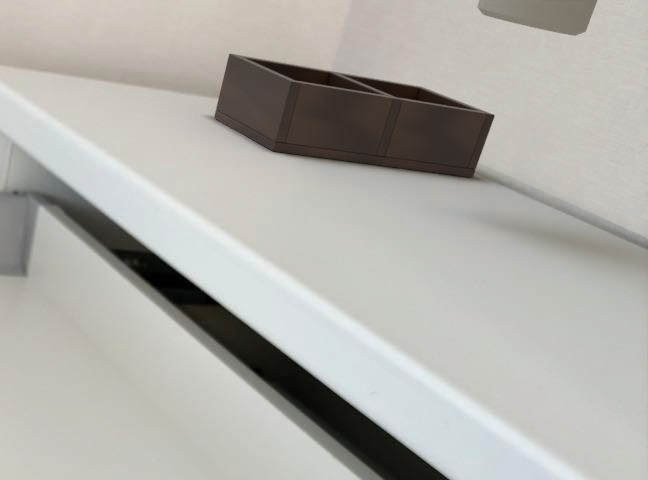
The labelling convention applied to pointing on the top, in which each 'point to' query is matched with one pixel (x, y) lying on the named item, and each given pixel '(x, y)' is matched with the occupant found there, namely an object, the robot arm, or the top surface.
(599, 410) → the top surface
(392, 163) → the divided wooden tray
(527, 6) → the travel mug
